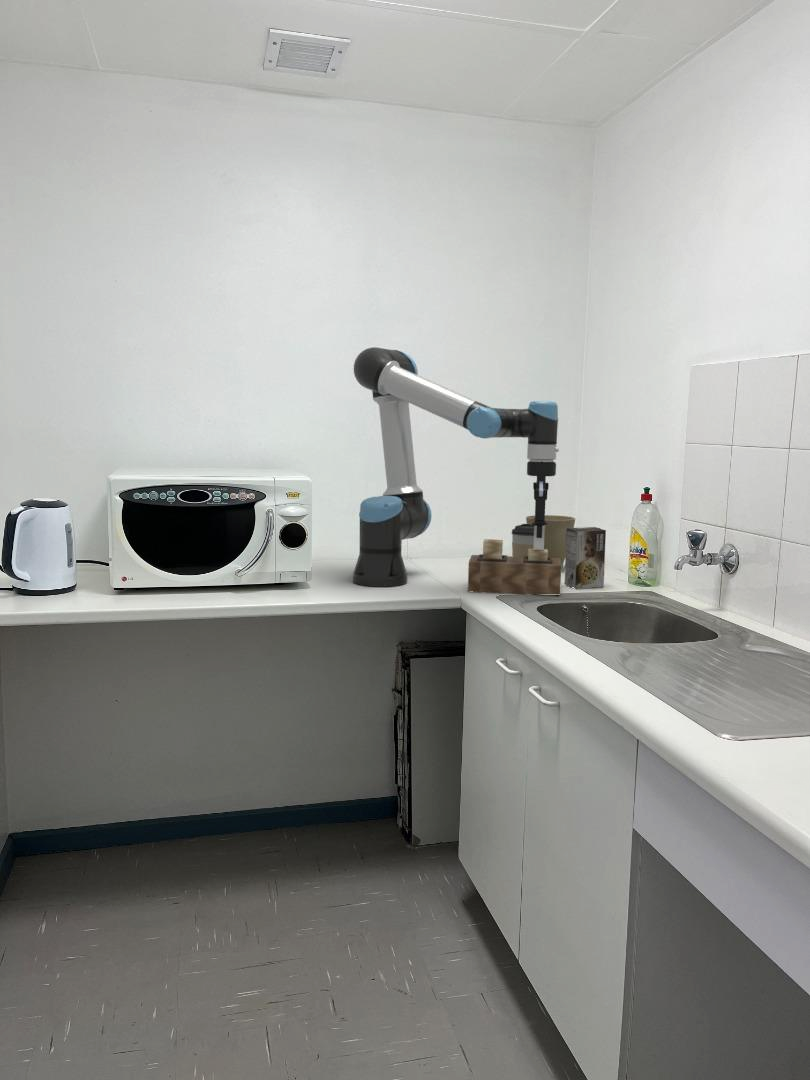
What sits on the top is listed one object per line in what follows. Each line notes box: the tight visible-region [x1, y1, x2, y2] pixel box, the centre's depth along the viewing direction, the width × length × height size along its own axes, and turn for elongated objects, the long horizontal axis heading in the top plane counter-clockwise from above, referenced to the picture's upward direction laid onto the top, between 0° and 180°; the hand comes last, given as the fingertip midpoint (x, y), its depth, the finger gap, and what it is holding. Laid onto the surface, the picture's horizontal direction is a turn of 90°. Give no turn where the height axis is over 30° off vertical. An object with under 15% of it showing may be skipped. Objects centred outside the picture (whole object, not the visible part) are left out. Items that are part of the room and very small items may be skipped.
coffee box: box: [563, 526, 607, 589], centre depth 227 cm, size 9×6×16 cm
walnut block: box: [467, 553, 562, 595], centre depth 222 cm, size 24×12×9 cm, turn 82°
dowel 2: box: [528, 549, 548, 561], centre depth 220 cm, size 5×5×6 cm
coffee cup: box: [511, 523, 534, 557], centre depth 241 cm, size 9×9×15 cm
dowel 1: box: [482, 538, 504, 559], centre depth 222 cm, size 5×5×6 cm
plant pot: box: [525, 514, 576, 568], centre depth 254 cm, size 15×15×16 cm
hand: (538, 549), depth 220 cm, fingers closed
